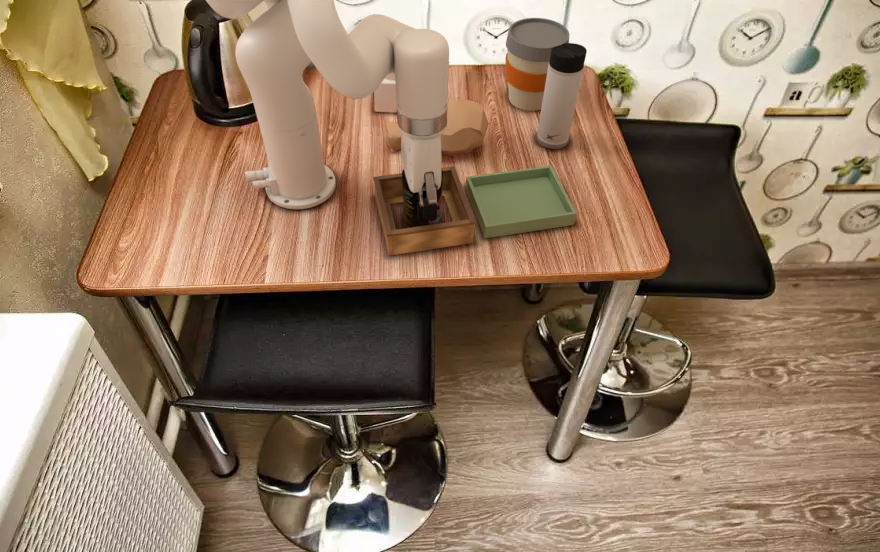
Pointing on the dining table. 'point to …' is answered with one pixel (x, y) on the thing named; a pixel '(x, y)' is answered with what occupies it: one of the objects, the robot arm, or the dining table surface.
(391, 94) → the white block figurine
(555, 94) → the travel mug
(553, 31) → the reusable coffee cup
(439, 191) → the supplement container
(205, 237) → the dining table surface
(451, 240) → the brown wooden square frame
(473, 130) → the squash
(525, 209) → the tray
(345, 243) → the dining table surface
